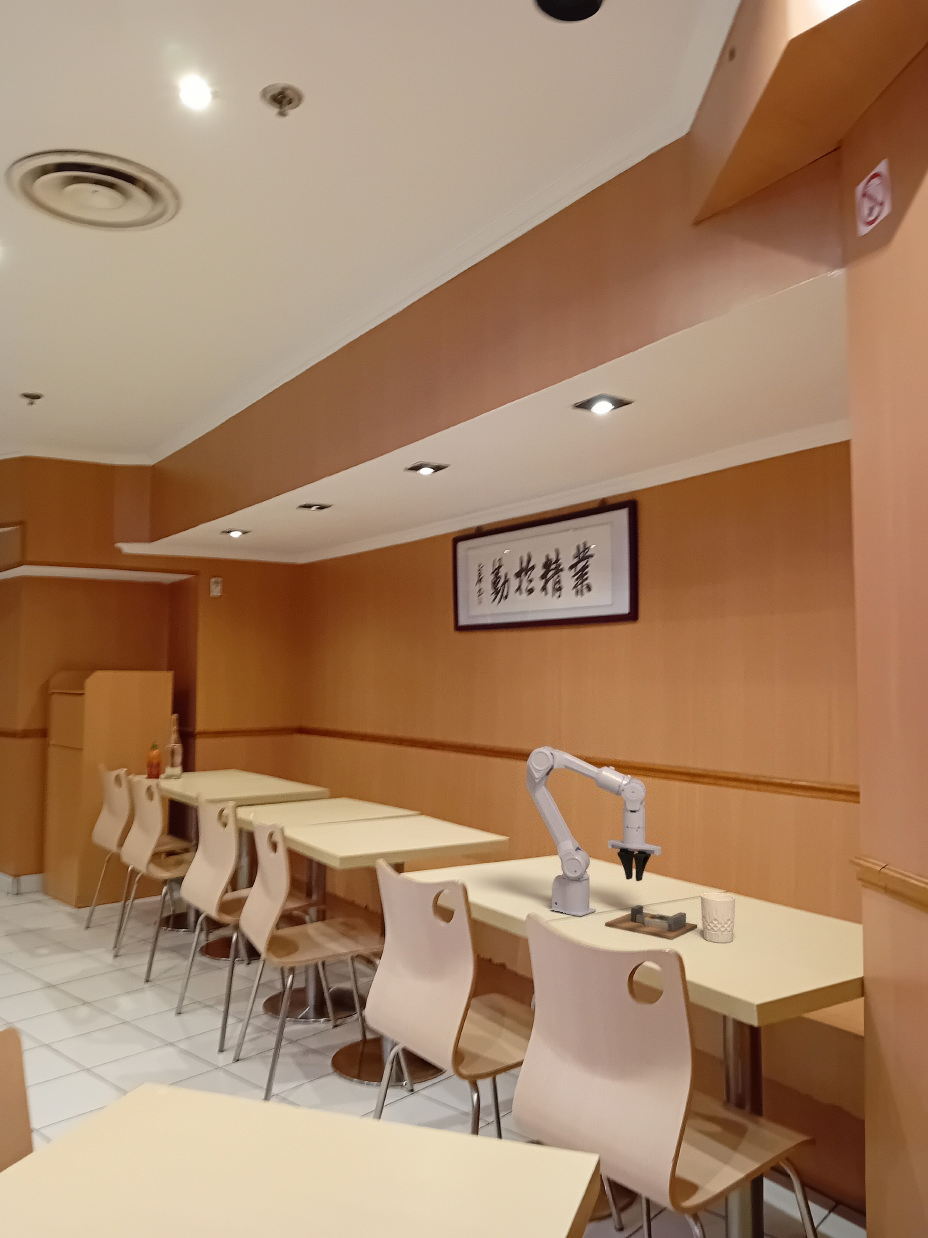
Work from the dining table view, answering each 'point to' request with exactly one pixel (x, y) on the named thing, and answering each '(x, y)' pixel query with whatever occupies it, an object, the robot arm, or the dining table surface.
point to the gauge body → (667, 922)
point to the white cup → (718, 917)
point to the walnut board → (647, 928)
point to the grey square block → (641, 915)
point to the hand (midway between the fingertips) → (634, 879)
